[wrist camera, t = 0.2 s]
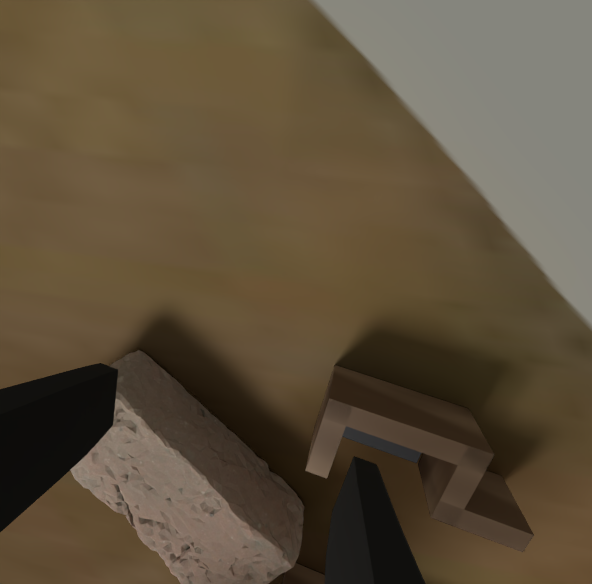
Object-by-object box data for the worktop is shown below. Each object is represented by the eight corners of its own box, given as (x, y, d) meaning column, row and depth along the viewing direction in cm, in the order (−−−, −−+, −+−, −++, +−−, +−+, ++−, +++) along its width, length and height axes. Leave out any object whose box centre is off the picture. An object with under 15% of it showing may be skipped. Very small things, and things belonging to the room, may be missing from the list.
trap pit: (416, 460, 19) (416, 463, 19) (336, 432, 19) (336, 434, 19) (434, 420, 18) (435, 422, 18) (350, 391, 19) (350, 393, 18)
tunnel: (415, 625, 22) (424, 698, 19) (270, 564, 24) (255, 621, 20) (529, 428, 17) (570, 480, 14) (334, 364, 18) (329, 398, 15)
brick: (87, 407, 24) (24, 452, 19) (142, 340, 21) (84, 374, 17) (241, 548, 24) (215, 623, 20) (313, 500, 22) (302, 574, 17)
